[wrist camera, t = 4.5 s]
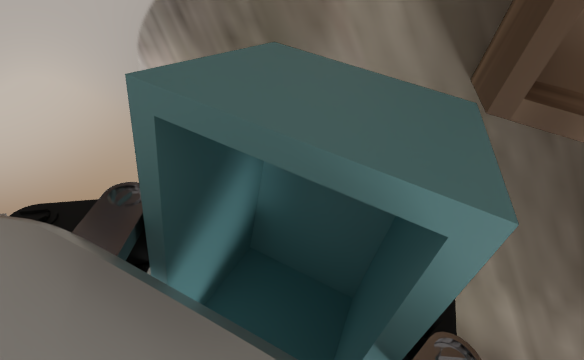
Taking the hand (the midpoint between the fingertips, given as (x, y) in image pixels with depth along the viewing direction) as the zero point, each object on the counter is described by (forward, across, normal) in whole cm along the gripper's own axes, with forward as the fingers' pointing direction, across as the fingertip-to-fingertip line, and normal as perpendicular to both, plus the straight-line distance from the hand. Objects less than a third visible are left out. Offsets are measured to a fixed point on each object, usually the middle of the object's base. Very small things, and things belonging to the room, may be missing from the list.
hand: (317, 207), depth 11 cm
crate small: (+1, 0, 0) cm, 1 cm away
